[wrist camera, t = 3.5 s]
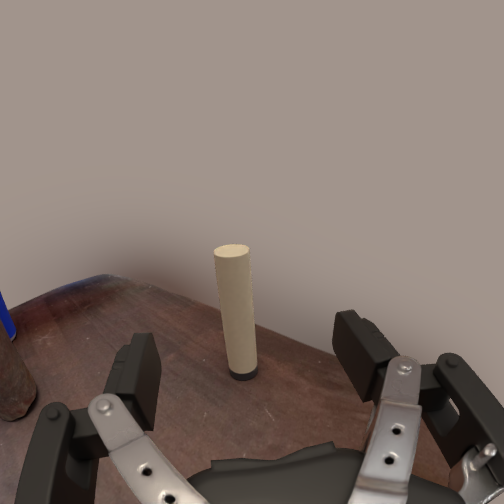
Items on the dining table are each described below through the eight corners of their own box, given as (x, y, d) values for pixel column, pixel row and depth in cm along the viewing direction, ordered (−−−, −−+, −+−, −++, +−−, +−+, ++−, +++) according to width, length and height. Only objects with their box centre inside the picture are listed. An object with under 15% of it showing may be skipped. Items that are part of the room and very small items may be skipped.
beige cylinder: (251, 358, 28) (241, 241, 24) (262, 375, 26) (255, 252, 21) (226, 366, 28) (209, 248, 23) (235, 384, 25) (219, 259, 20)
